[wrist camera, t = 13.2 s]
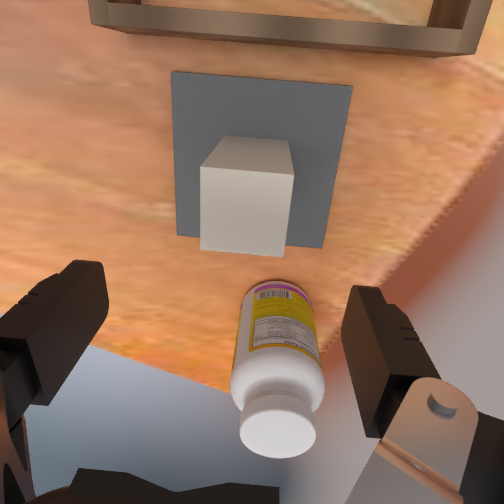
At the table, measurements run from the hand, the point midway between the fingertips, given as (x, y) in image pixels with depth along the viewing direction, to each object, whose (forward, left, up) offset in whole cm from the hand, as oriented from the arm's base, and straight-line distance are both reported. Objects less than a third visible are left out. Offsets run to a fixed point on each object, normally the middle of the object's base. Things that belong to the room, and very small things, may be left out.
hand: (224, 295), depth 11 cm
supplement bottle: (+3, -13, -17) cm, 22 cm away
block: (0, 0, -16) cm, 16 cm away
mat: (0, 0, -17) cm, 17 cm away
